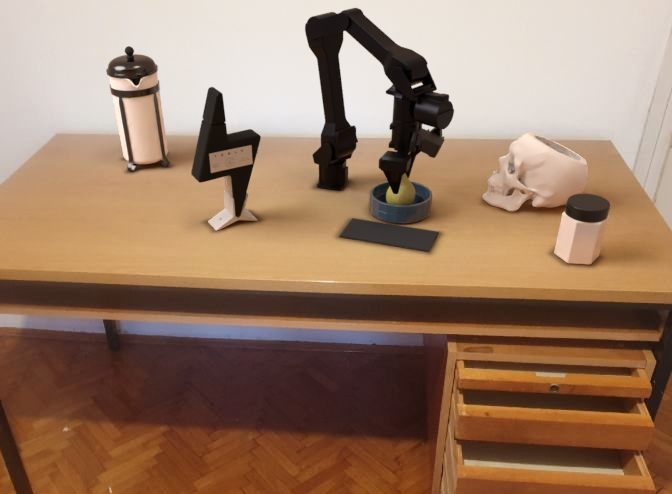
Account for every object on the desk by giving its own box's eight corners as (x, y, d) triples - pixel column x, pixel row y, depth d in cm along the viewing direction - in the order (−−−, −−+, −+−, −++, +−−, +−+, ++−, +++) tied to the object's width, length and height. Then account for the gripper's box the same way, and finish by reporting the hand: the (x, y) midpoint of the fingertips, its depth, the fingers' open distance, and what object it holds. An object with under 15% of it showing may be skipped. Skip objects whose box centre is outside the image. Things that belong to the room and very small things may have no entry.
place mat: (339, 237, 154) (339, 235, 154) (352, 219, 161) (352, 218, 161) (428, 252, 148) (428, 250, 148) (438, 233, 155) (438, 231, 155)
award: (205, 233, 157) (189, 98, 139) (196, 224, 161) (180, 91, 143) (266, 218, 163) (258, 86, 145) (256, 209, 166) (248, 79, 149)
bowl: (361, 219, 161) (362, 201, 158) (379, 194, 172) (380, 177, 169) (421, 228, 157) (423, 210, 154) (436, 202, 167) (438, 185, 164)
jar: (565, 241, 151) (577, 189, 143) (603, 252, 146) (617, 199, 139) (548, 257, 145) (559, 204, 138) (586, 269, 141) (600, 215, 134)
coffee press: (188, 156, 194) (174, 42, 176) (148, 177, 183) (129, 57, 165) (141, 145, 202) (123, 34, 184) (101, 164, 191) (78, 48, 173)
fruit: (413, 202, 167) (417, 154, 159) (414, 216, 161) (418, 166, 153) (385, 202, 167) (388, 153, 160) (385, 216, 161) (388, 166, 154)
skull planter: (473, 180, 172) (522, 113, 161) (541, 219, 175) (593, 156, 163) (474, 205, 161) (527, 135, 150) (546, 245, 164) (603, 180, 153)
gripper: (432, 137, 142) (425, 207, 151) (452, 108, 156) (445, 174, 165) (379, 130, 145) (376, 200, 155) (403, 103, 159) (399, 168, 168)
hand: (401, 185), depth 160 cm, fingers open, 9 cm apart
